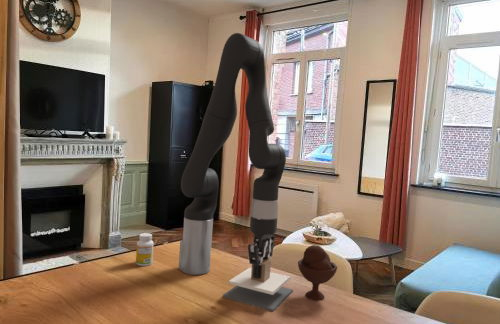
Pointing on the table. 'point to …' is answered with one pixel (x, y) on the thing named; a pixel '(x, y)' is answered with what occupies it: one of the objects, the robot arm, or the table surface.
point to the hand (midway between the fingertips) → (260, 275)
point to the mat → (258, 297)
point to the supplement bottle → (144, 250)
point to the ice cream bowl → (316, 270)
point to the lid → (261, 279)
